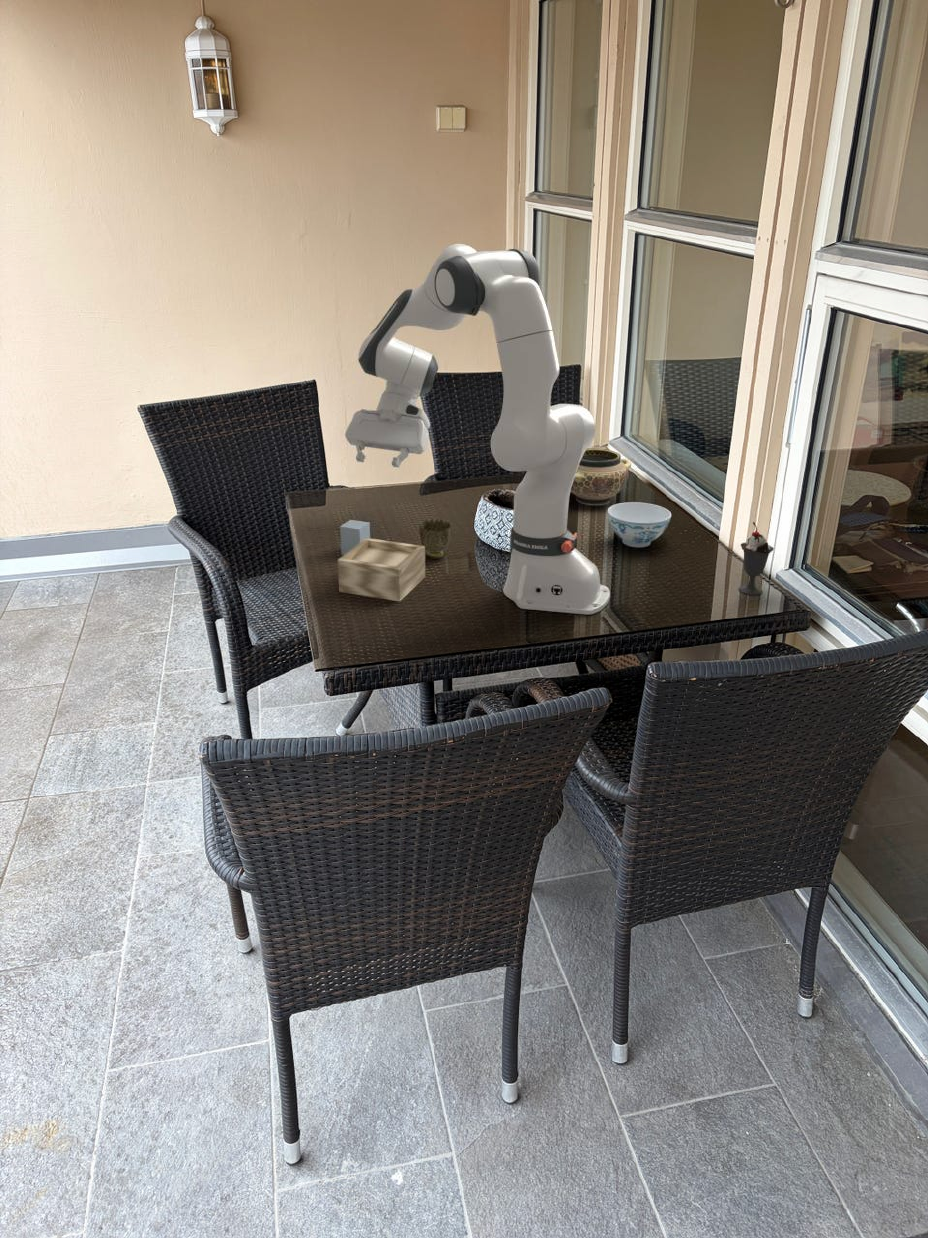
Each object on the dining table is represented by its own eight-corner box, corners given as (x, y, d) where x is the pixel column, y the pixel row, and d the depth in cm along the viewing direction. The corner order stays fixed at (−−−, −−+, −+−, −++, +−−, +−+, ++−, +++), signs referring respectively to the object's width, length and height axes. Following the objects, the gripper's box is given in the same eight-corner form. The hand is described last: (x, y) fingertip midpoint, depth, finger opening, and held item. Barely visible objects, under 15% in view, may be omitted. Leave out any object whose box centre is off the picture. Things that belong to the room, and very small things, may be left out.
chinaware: (602, 550, 221) (604, 519, 217) (608, 529, 234) (610, 499, 231) (666, 556, 218) (669, 525, 214) (669, 534, 231) (672, 505, 227)
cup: (447, 563, 212) (447, 530, 209) (415, 561, 213) (415, 528, 210) (454, 552, 219) (454, 519, 215) (423, 549, 220) (423, 517, 217)
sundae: (738, 582, 204) (747, 517, 198) (769, 588, 201) (780, 522, 195) (730, 593, 199) (740, 526, 192) (762, 599, 196) (773, 532, 190)
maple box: (425, 578, 205) (424, 546, 202) (399, 602, 194) (399, 569, 190) (367, 569, 210) (366, 537, 206) (339, 592, 198) (337, 559, 195)
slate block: (370, 550, 219) (369, 522, 216) (360, 558, 215) (359, 529, 212) (351, 547, 221) (350, 519, 218) (341, 554, 217) (340, 526, 214)
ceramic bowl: (611, 496, 266) (607, 443, 263) (654, 497, 251) (649, 441, 248) (542, 510, 255) (536, 455, 251) (582, 513, 240) (576, 454, 236)
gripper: (351, 401, 225) (333, 451, 221) (429, 410, 218) (411, 462, 214) (360, 415, 231) (343, 464, 227) (436, 425, 224) (419, 475, 220)
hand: (377, 463), depth 221 cm, fingers open, 8 cm apart
